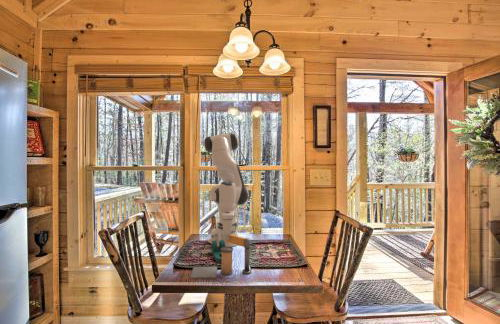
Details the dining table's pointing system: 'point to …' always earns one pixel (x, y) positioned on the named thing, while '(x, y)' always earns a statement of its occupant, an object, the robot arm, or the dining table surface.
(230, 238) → the orange wooden bar
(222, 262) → the cylinder
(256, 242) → the dining table surface
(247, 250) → the post
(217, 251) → the bracket
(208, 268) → the pad
